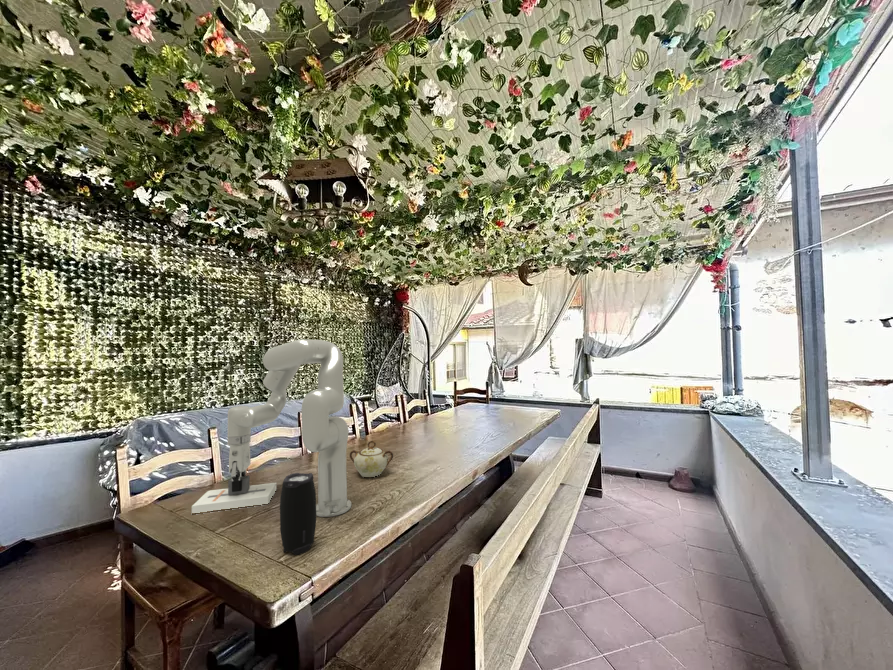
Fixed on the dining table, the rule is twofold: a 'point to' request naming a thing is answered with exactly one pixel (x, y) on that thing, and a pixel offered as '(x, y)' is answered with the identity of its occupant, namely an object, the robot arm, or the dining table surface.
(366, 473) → the sugar bowl
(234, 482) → the robot arm
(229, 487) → the fader tab
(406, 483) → the dining table surface
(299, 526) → the portable speaker
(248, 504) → the board
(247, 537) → the dining table surface
